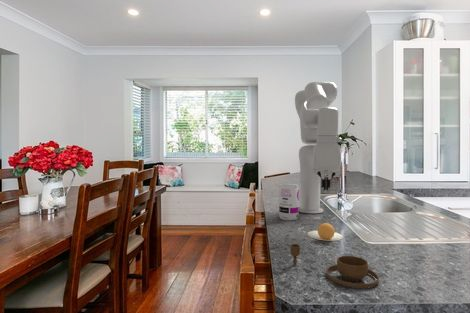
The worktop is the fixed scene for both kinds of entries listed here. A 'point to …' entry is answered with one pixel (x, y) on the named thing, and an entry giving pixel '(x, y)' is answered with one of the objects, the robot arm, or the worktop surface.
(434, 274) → the worktop surface
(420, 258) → the worktop surface
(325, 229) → the ball
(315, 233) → the disc
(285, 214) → the supplement can
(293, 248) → the place setting
